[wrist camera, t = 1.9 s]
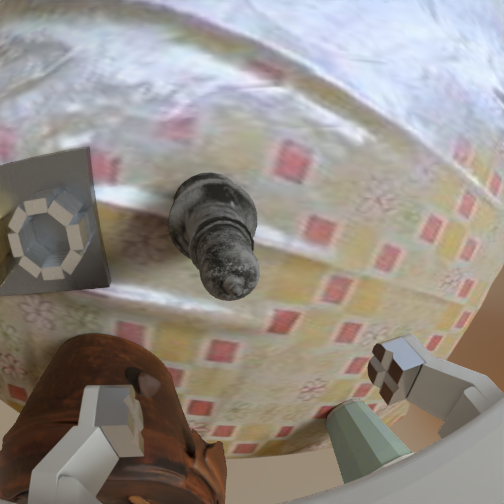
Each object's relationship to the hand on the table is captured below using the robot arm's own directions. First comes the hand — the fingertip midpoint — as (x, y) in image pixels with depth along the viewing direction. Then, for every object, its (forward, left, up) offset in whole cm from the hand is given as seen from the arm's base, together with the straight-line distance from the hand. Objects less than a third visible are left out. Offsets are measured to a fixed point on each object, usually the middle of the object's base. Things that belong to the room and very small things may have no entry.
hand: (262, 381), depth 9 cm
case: (+17, -11, -17) cm, 26 cm away
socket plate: (0, -18, -16) cm, 24 cm away
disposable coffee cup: (+32, +18, -17) cm, 40 cm away
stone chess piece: (0, 0, -17) cm, 17 cm away
